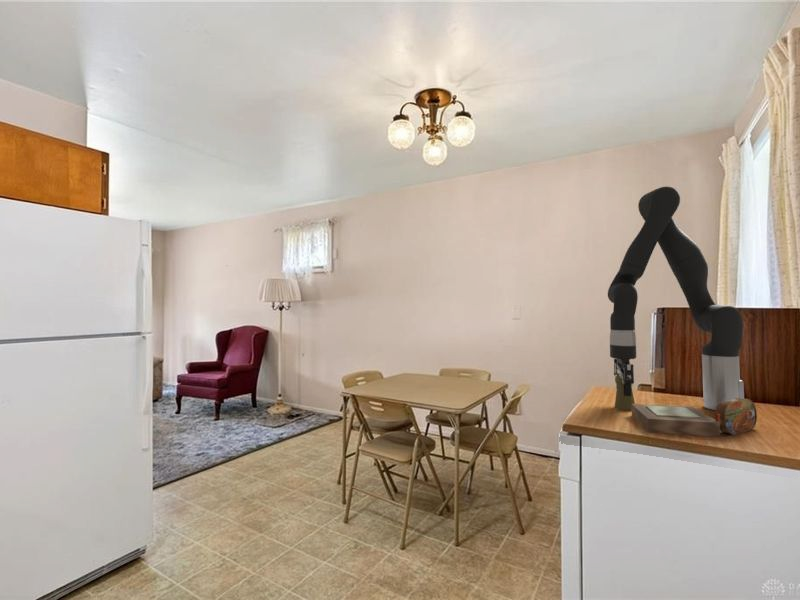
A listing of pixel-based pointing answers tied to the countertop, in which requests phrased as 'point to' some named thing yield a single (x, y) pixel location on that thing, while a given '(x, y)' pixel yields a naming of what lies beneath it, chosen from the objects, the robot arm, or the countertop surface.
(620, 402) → the olive pepper mill
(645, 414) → the stand
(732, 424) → the tin
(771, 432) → the countertop surface
